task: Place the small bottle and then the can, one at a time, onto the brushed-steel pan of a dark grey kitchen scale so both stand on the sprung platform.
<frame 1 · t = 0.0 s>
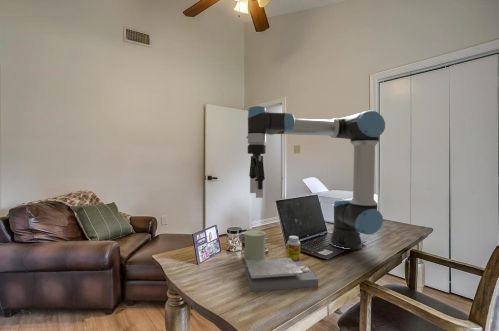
hand: (256, 195, 105), 28 cm above the table, fingers open, 13 cm apart
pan: (272, 267, 90), point 4 cm above the table, slide at -0.4 cm
can: (254, 259, 108), on the table
supplement bottle: (293, 261, 107), on the table
scale base: (279, 278, 91), on the table
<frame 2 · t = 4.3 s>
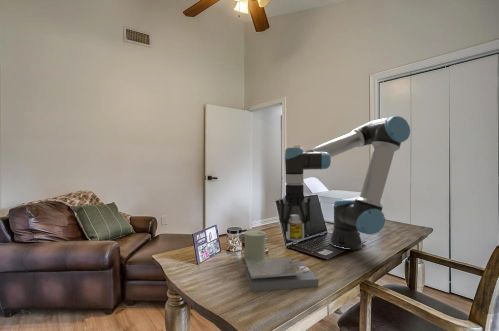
hand: (295, 238, 107), 10 cm above the table, fingers closed on supplement bottle, 6 cm apart
supplement bottle: (295, 239, 107), point 9 cm above the table, touching gripper
everything else where it was.
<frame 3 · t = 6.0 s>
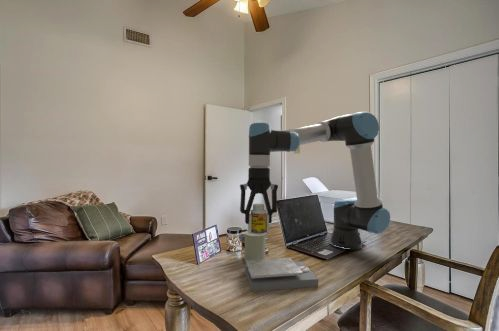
hand: (258, 232, 89), 17 cm above the table, fingers closed on supplement bottle, 6 cm apart
supplement bottle: (258, 233, 89), point 17 cm above the table, touching gripper
everything else where it was.
when the fingers open (6 cm above the table, at t = 8.0 s): supplement bottle drops 2 cm, resting on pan.
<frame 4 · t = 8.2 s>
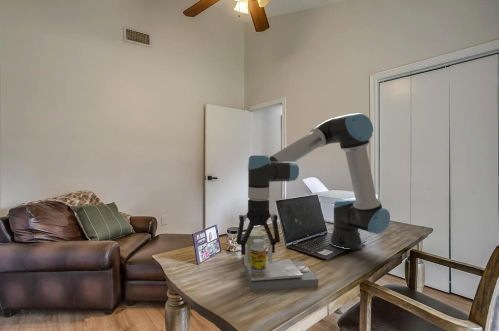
hand: (257, 262, 89), 6 cm above the table, fingers open, 8 cm apart
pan: (272, 269, 90), point 3 cm above the table, slide at -1.2 cm, touching supplement bottle
supplement bottle: (258, 269, 89), point 4 cm above the table, touching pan
everything else where it was.
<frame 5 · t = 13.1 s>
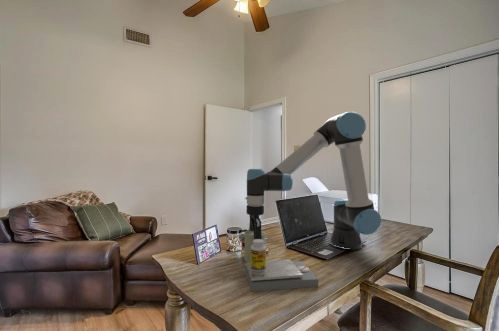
hand: (254, 256, 108), 1 cm above the table, fingers closed on can, 9 cm apart
can: (254, 259, 108), on the table, touching gripper
everything else where it was.
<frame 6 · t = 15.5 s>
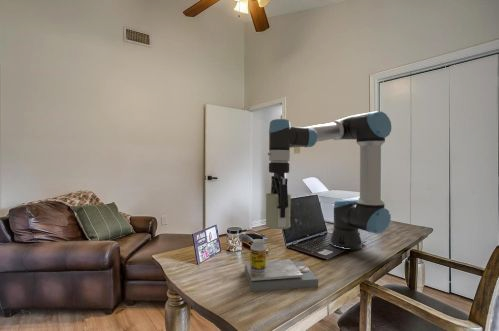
hand: (278, 223, 93), 20 cm above the table, fingers closed on can, 9 cm apart
can: (277, 226, 93), point 18 cm above the table, touching gripper
everything else where it was.
when the fingers open (7 cm above the table, at t = 18.0 s): can drops 3 cm, resting on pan.
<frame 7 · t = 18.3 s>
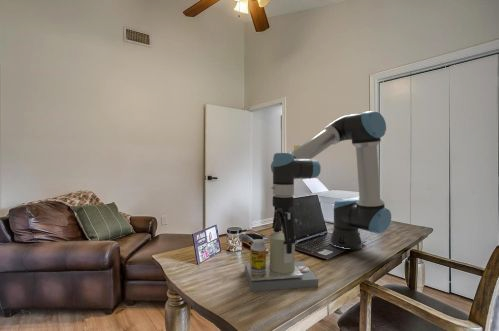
hand: (282, 255, 91), 8 cm above the table, fingers open, 12 cm apart
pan: (272, 269, 90), point 3 cm above the table, slide at -1.3 cm, touching supplement bottle, can
can: (282, 268, 91), point 4 cm above the table, touching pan
everything else where it was.
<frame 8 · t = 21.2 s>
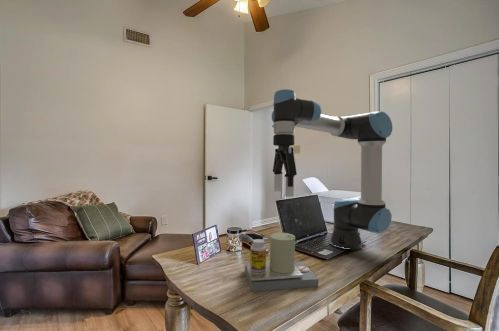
hand: (283, 193, 90), 31 cm above the table, fingers open, 13 cm apart
nothing on the table moved.
at the end: can inside the target area (0.0 cm from its centre), point 3.6 cm above the table; supplement bottle inside the target area (0.2 cm from its centre), point 3.6 cm above the table; supplement bottle tilted 0° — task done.
